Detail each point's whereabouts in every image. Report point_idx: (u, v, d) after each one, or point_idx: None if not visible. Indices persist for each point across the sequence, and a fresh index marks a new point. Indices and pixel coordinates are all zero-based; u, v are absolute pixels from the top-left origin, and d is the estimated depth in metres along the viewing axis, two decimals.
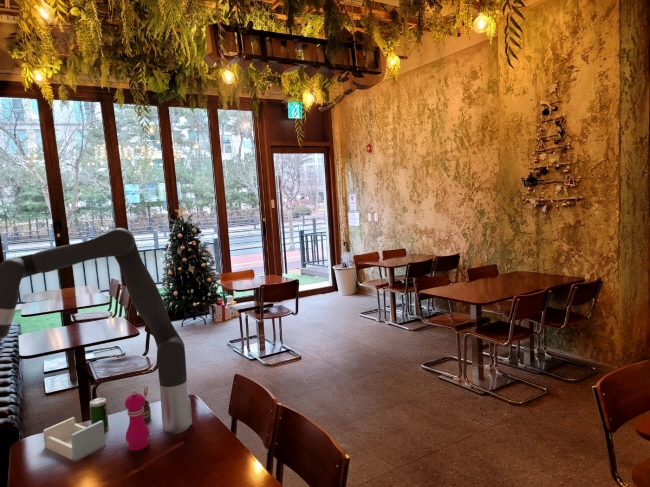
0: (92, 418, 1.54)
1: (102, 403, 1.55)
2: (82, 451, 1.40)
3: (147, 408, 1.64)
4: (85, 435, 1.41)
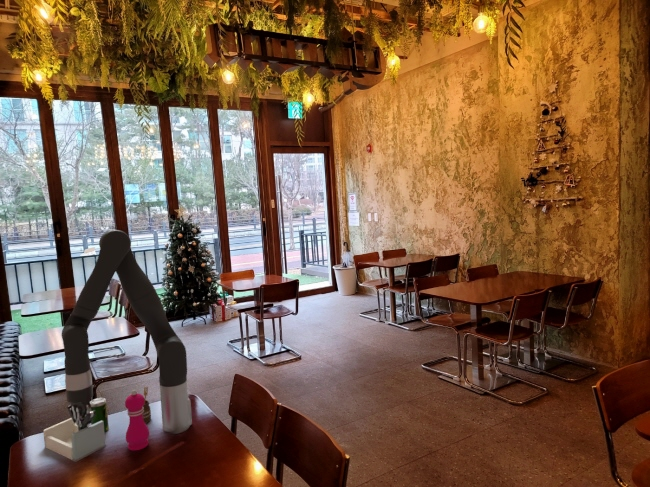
0: None
1: (102, 403, 1.55)
2: (82, 451, 1.40)
3: (147, 408, 1.64)
4: (85, 435, 1.41)
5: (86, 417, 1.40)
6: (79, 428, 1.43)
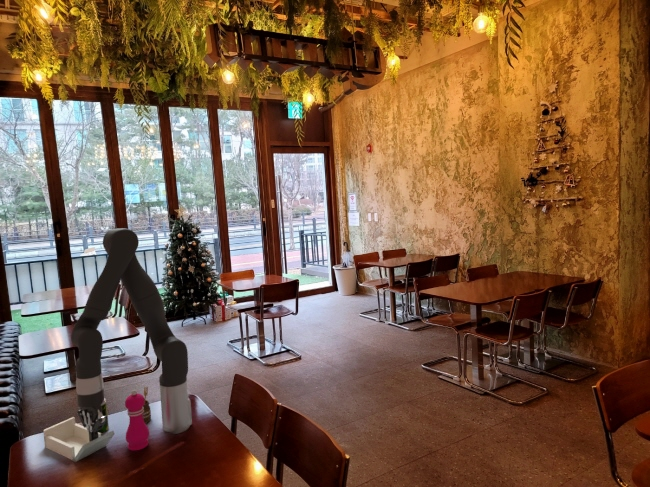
0: None
1: (102, 403, 1.55)
2: (85, 455, 1.40)
3: (147, 408, 1.64)
4: (94, 445, 1.39)
5: (97, 422, 1.36)
6: (90, 433, 1.39)
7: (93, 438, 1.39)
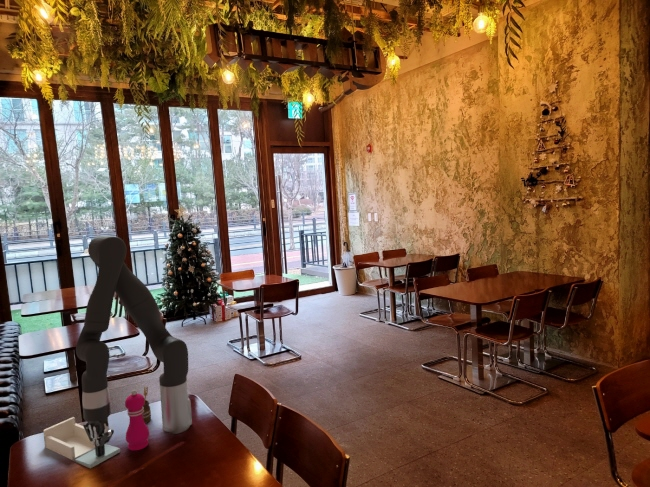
0: None
1: None
2: None
3: (147, 408, 1.64)
4: None
5: (104, 436, 1.35)
6: (96, 447, 1.38)
7: (99, 452, 1.38)
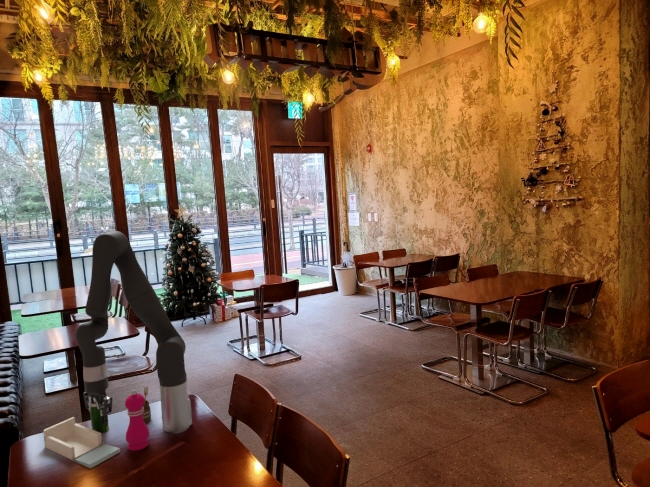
0: (92, 418, 1.54)
1: None
2: None
3: (147, 408, 1.64)
4: None
5: (103, 401, 1.52)
6: None
7: (103, 421, 1.54)
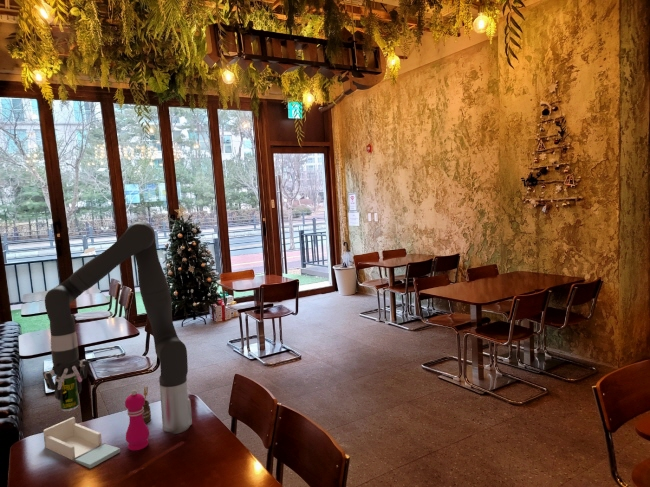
0: None
1: (59, 377, 1.43)
2: None
3: (147, 408, 1.64)
4: None
5: None
6: None
7: None
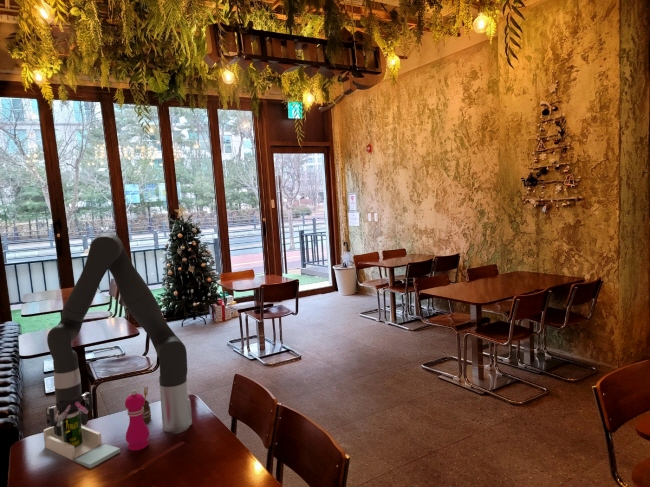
0: None
1: None
2: None
3: (147, 408, 1.64)
4: None
5: None
6: None
7: None
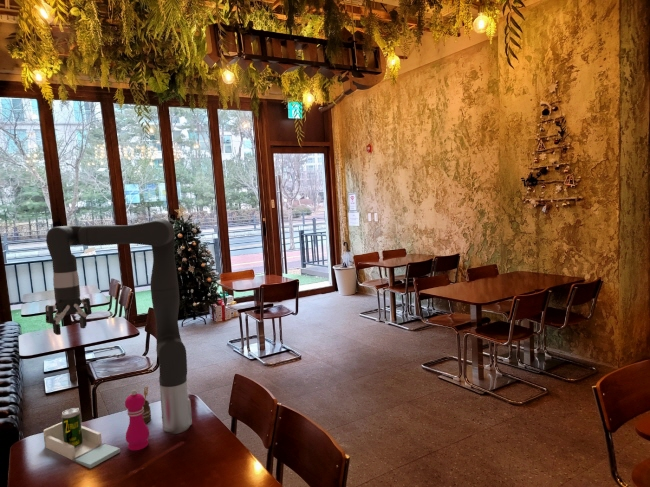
0: None
1: (63, 416, 1.44)
2: None
3: (147, 408, 1.64)
4: None
5: None
6: None
7: None
